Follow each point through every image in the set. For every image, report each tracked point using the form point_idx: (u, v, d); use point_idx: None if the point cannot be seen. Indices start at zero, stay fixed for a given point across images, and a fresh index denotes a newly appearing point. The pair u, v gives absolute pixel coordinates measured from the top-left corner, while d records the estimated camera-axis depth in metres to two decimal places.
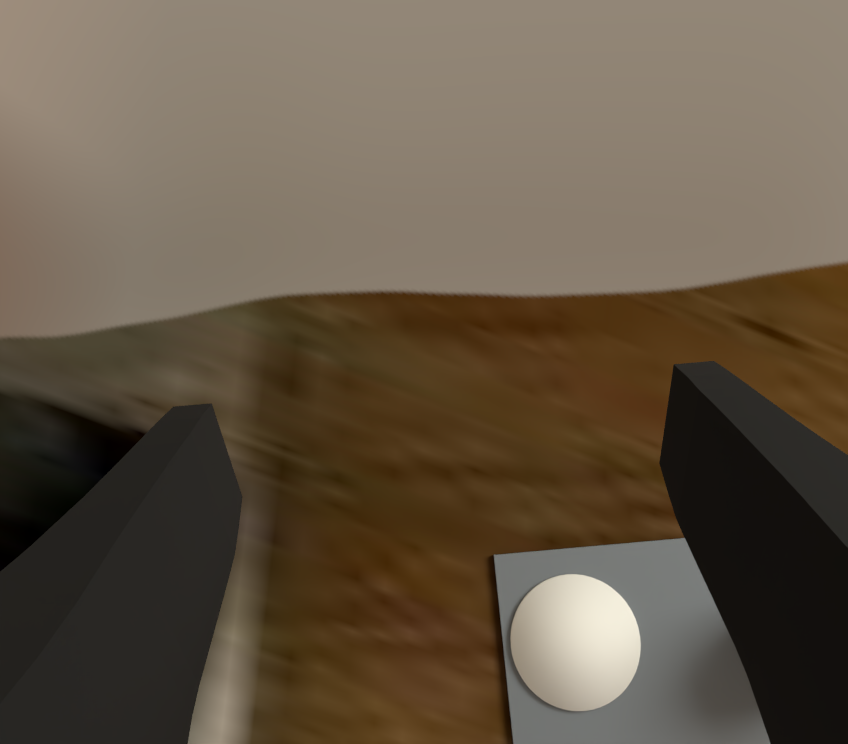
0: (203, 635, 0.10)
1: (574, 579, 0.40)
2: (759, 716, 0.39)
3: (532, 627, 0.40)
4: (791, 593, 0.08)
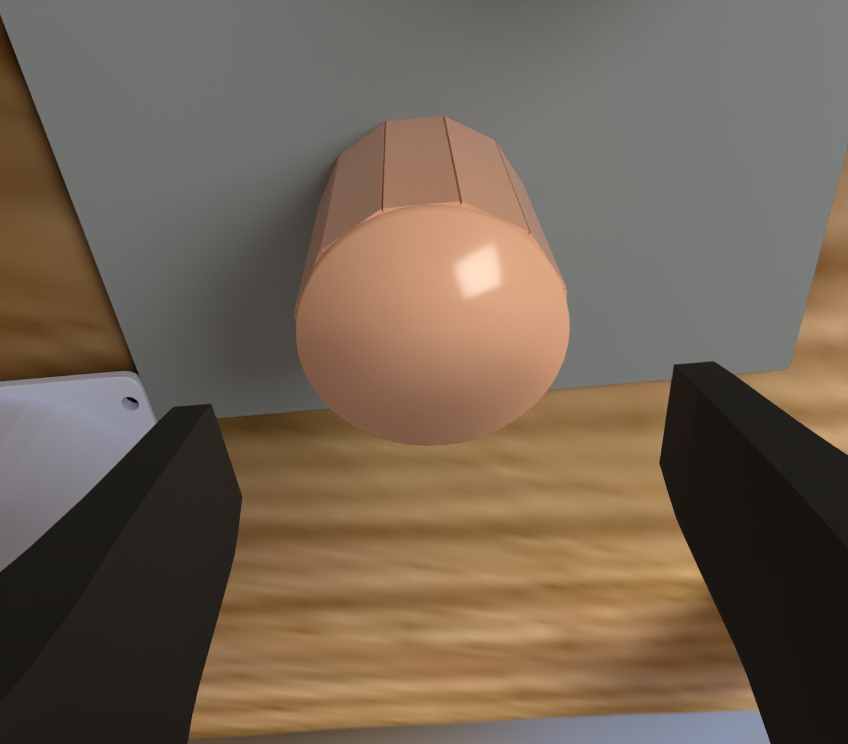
0: (203, 635, 0.10)
1: None
2: None
3: None
4: (791, 593, 0.08)
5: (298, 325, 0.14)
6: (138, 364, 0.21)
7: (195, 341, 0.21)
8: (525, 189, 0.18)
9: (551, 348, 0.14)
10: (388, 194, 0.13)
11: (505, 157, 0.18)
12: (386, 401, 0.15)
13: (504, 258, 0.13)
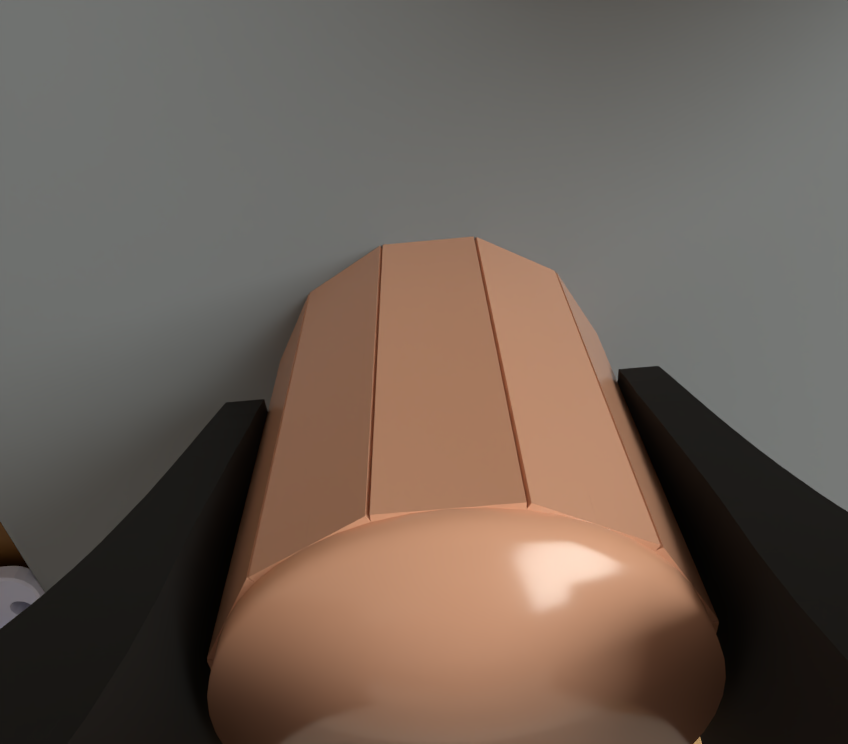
0: None
1: None
2: None
3: None
4: (716, 598, 0.08)
5: (211, 698, 0.07)
6: (30, 560, 0.15)
7: (108, 533, 0.14)
8: (600, 342, 0.12)
9: (684, 718, 0.08)
10: (382, 462, 0.07)
11: (571, 297, 0.11)
12: None
13: (613, 606, 0.06)
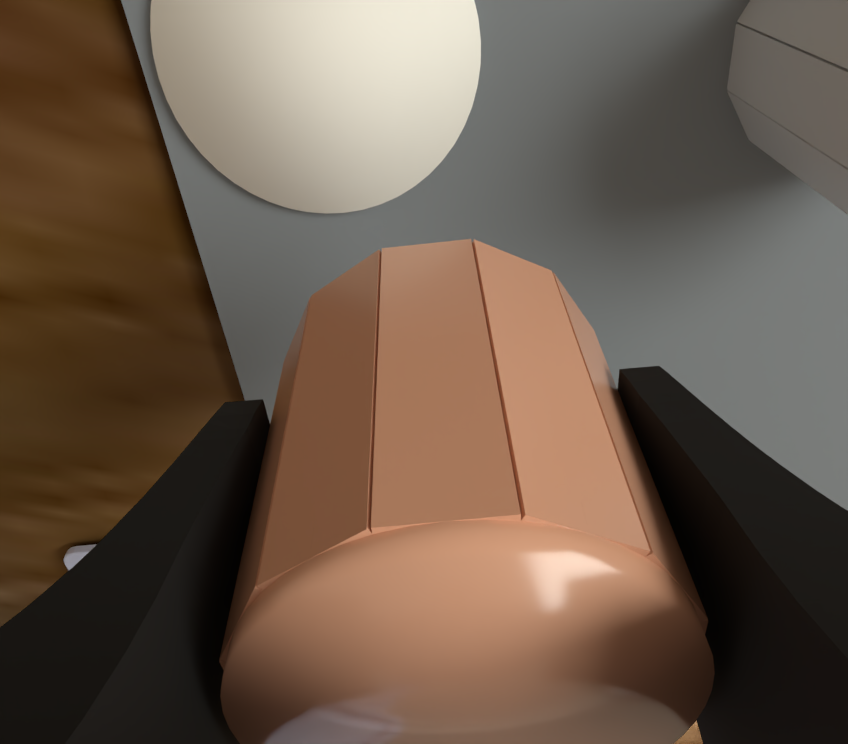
0: None
1: None
2: (718, 210, 0.18)
3: (204, 24, 0.15)
4: (718, 599, 0.08)
5: (225, 697, 0.08)
6: None
7: None
8: (597, 339, 0.12)
9: (675, 709, 0.08)
10: (383, 475, 0.07)
11: (568, 296, 0.11)
12: None
13: (605, 610, 0.07)
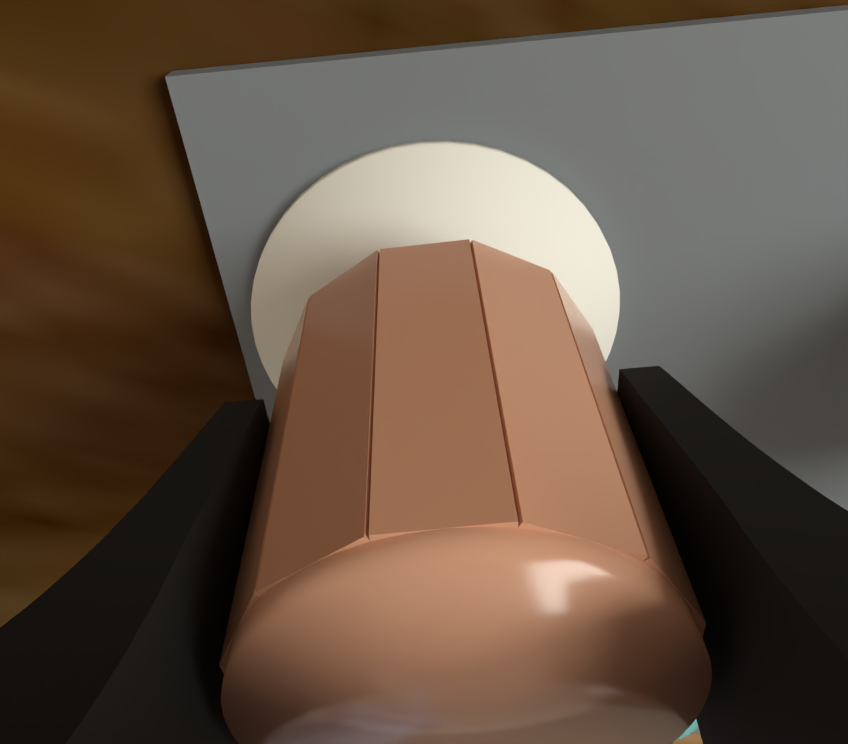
0: None
1: (442, 161, 0.12)
2: None
3: None
4: (717, 598, 0.08)
5: (225, 701, 0.08)
6: None
7: None
8: (596, 339, 0.12)
9: (673, 711, 0.08)
10: (381, 480, 0.07)
11: (567, 296, 0.11)
12: None
13: (603, 616, 0.07)
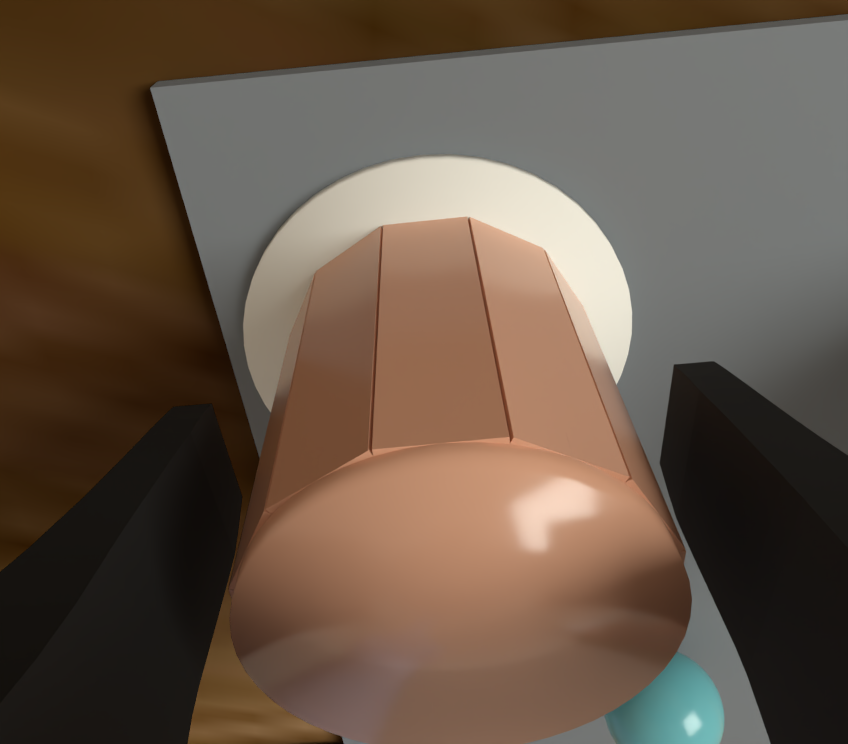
0: (203, 635, 0.10)
1: (446, 177, 0.11)
2: None
3: None
4: (791, 593, 0.08)
5: (233, 620, 0.08)
6: None
7: None
8: None
9: (657, 640, 0.09)
10: (383, 407, 0.08)
11: (559, 272, 0.12)
12: (384, 706, 0.09)
13: (588, 530, 0.07)
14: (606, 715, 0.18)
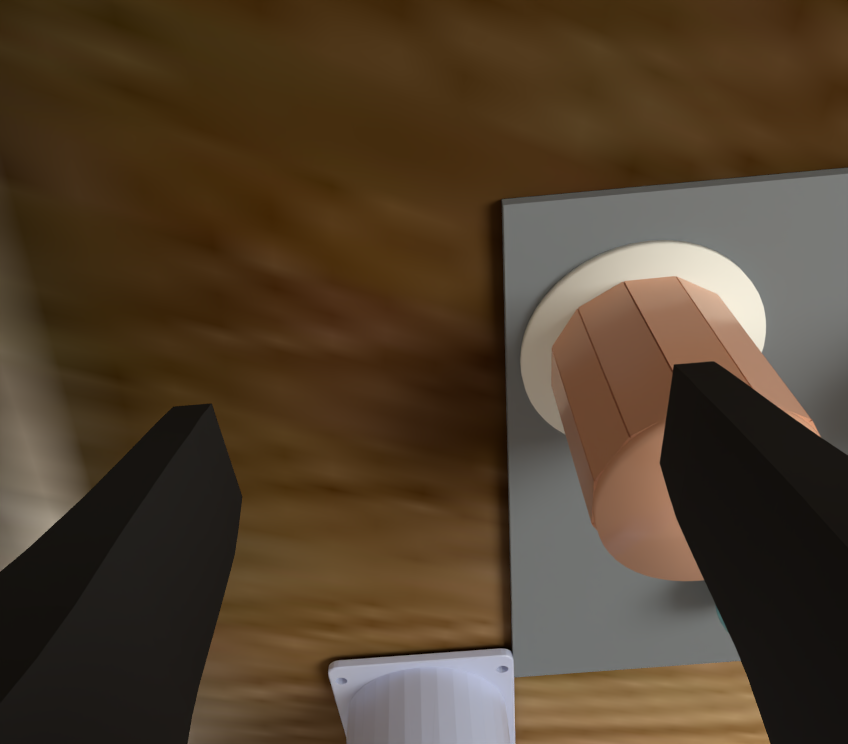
0: (203, 635, 0.10)
1: (666, 254, 0.19)
2: None
3: None
4: (791, 593, 0.08)
5: (603, 494, 0.16)
6: (515, 646, 0.30)
7: (560, 634, 0.30)
8: None
9: None
10: None
11: None
12: (660, 549, 0.17)
13: None
14: None
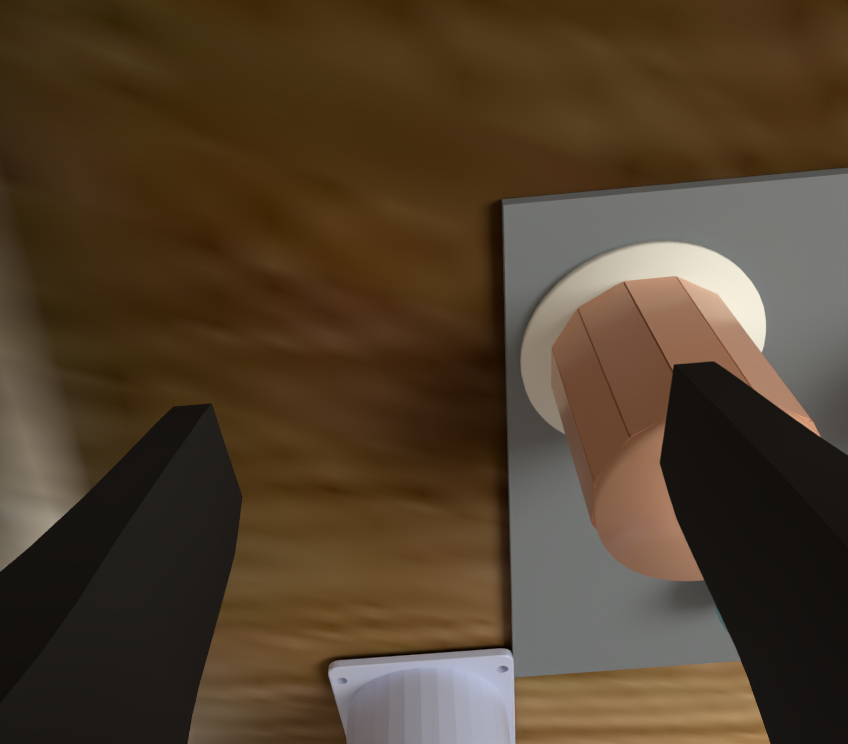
0: (203, 635, 0.10)
1: (666, 254, 0.19)
2: None
3: None
4: (791, 593, 0.08)
5: (603, 494, 0.16)
6: (515, 646, 0.30)
7: (560, 634, 0.30)
8: None
9: None
10: None
11: None
12: (660, 549, 0.17)
13: None
14: None
